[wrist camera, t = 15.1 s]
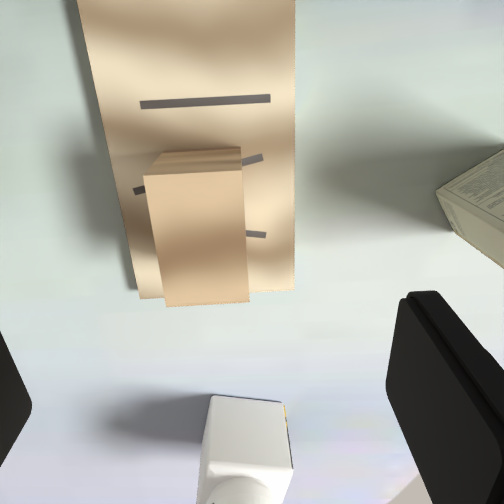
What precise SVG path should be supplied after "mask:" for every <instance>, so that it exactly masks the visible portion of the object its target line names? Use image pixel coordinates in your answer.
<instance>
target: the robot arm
mask: <svg viewBox="0 0 504 504" xmlns="http://www.w3.org/2000/svg"><path fill="white" fill-rule="evenodd" d="M386 392H387V396H388V399H389V401H390V404H391V406H392V408H393V411H394V413H395V416H396V418H397V420H398V423H399V425H400V427H401V430H402V432H403V434H404V437H405V439H406V442H407V444H408V446H409V449H410V451H411V453H412V456H413V458H414V461H415V463H416V465H417V468H418V470H419V472H420V475H421V477H422V479H423V482H424V484H425V487H426V489H427V491H428V494H429V496H430V498H431V501H432V503H433V504H504V370H503V369H502V367H501V366H500V365H499V364H498V363H497V361H496V360H495V359H494V358H493V356H492V355H491V354H490V353H489V352H488V351H487V350H486V349H484V348H483V346H482V345H481V344H480V343H479V341H478V340H477V339H476V338H475V337H474V335H473V334H472V333H471V332H470V330H469V329H468V328H467V327H466V326H465V324H464V323H463V322H462V321H461V319H460V318H459V317H458V316H457V314H456V313H455V312H454V311H453V310H452V308H451V307H450V306H449V305H448V303H447V302H446V301H445V300H444V298H443V297H442V296H441V295H440V294H439V293H438V292H437V291H414V292H409V293H408V295H407V297H406V298H402V299H401V300H400V302H399V306H398V312H397V318H396V324H395V330H394V336H393V342H392V348H391V353H390V359H389V365H388V371H387V377H386ZM31 410H32V401H31V398H30V396H29V394H28V392H27V389H26V387H25V385H24V383H23V381H22V378H21V376H20V374H19V372H18V370H17V367H16V365H15V363H14V361H13V358H12V356H11V354H10V352H9V350H8V347H7V345H6V343H5V341H4V339H3V336H2V334H1V332H0V467H1V465H2V463H3V462H4V460H5V458H6V456H7V455H8V453H9V451H10V449H11V448H12V446H13V444H14V442H15V441H16V439H17V437H18V435H19V434H20V432H21V430H22V428H23V427H24V425H25V423H26V422H27V420H28V418H29V416H30V414H31Z"/></svg>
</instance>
